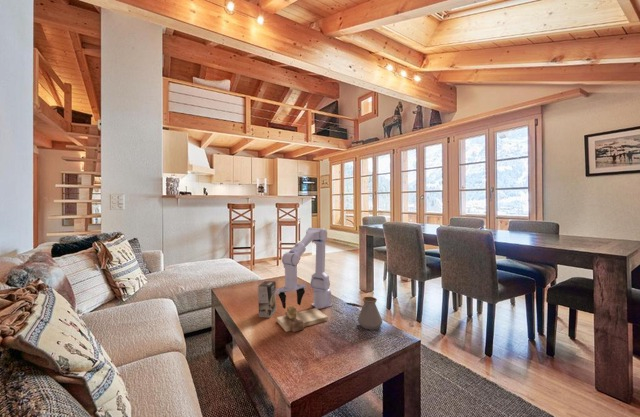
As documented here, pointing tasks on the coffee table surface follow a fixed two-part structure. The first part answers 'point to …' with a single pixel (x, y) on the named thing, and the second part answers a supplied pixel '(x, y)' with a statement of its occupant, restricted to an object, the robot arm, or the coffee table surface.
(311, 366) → the coffee table surface
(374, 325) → the coffee pot
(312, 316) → the pine board
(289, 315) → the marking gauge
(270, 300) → the coffee box
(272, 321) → the coffee table surface
